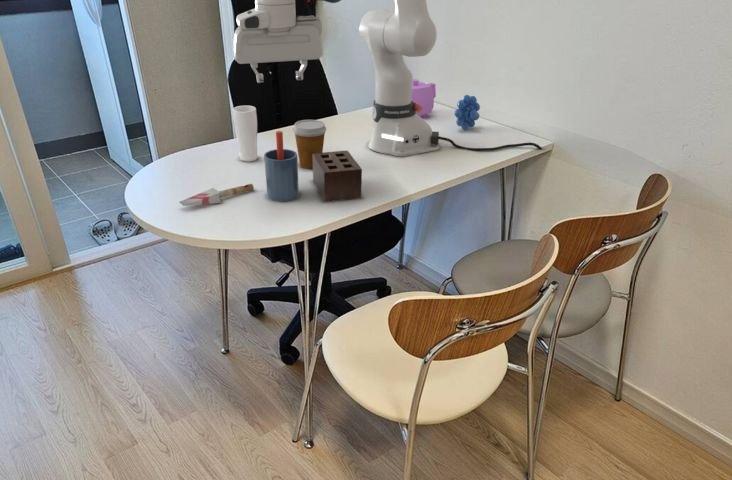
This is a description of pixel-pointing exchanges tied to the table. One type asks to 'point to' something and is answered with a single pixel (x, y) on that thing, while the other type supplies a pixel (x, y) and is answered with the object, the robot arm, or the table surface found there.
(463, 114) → the grapes
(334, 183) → the caddy
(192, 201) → the grey and wooden tool
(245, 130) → the drinking glass
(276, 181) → the tumbler
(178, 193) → the table surface
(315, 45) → the robot arm
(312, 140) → the disposable coffee cup
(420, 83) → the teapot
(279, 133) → the straw
